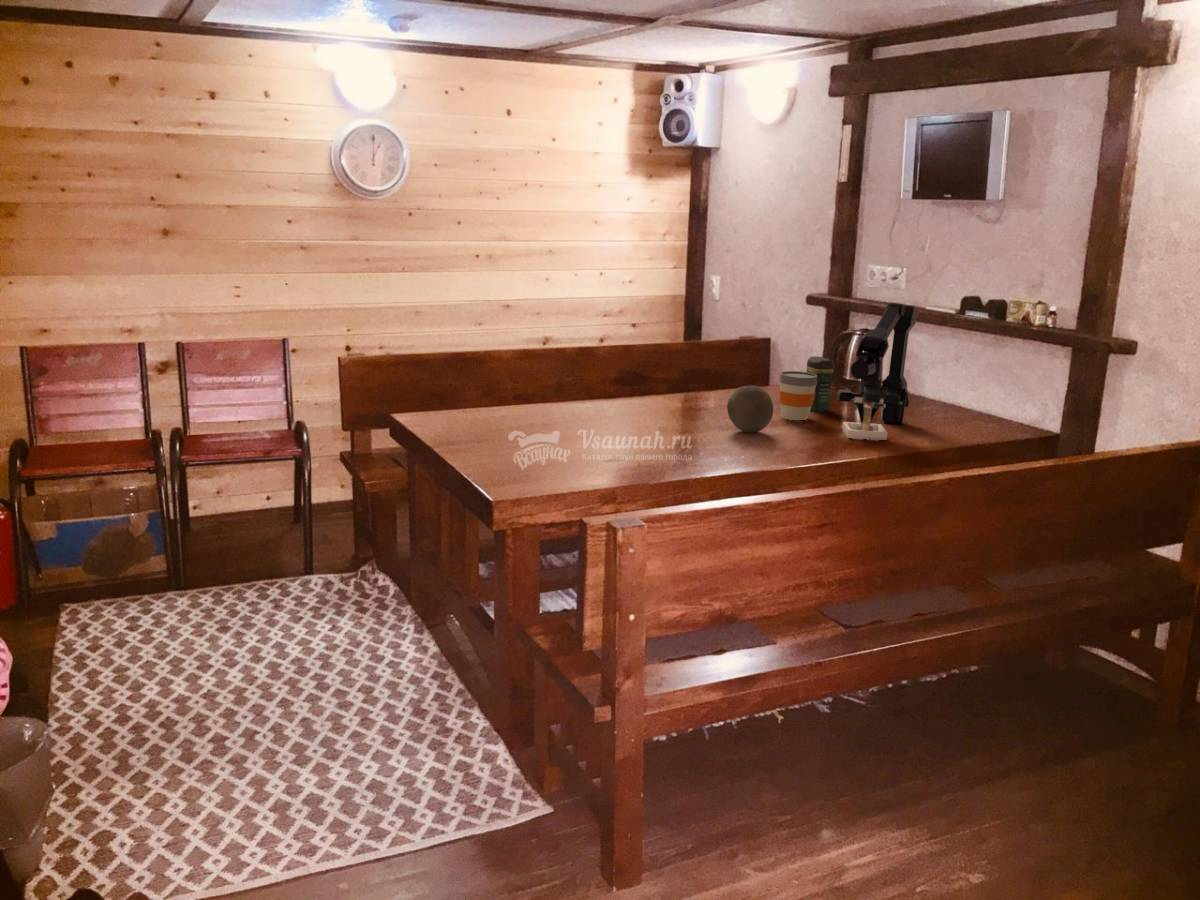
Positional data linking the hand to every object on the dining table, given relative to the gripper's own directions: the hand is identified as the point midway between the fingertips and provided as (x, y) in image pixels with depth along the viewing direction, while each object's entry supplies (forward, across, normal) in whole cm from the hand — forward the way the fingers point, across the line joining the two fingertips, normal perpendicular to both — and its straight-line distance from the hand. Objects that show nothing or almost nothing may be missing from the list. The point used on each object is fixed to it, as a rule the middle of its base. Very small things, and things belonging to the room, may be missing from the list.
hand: (865, 423), depth 315 cm
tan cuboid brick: (+3, 0, 0) cm, 3 cm away
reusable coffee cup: (+4, -20, +19) cm, 28 cm away
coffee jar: (+4, -11, +36) cm, 38 cm away
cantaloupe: (+4, -37, -7) cm, 38 cm away
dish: (+4, 0, 0) cm, 4 cm away
